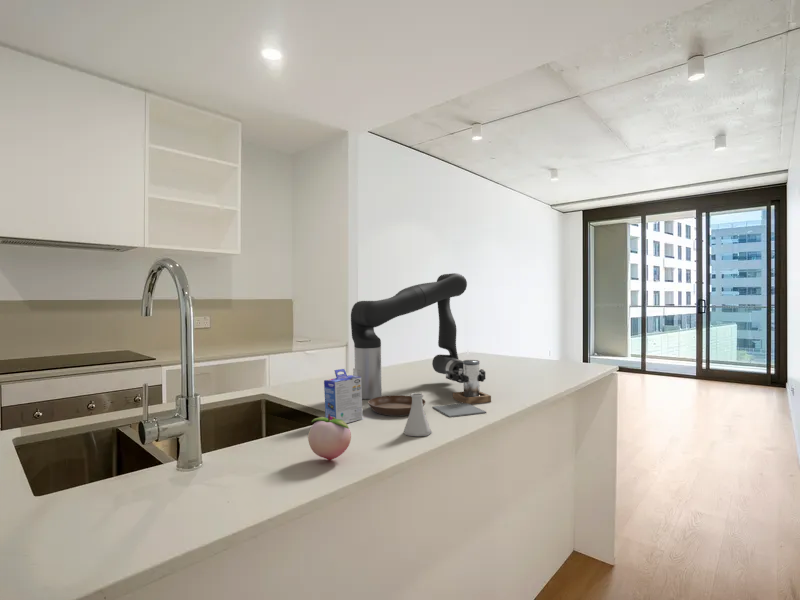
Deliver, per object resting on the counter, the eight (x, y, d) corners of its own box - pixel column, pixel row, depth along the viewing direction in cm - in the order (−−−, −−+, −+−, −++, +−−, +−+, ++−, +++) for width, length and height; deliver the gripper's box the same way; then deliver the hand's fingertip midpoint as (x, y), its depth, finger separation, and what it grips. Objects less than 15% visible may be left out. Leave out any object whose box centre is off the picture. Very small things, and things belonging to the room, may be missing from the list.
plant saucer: (404, 401, 153) (404, 392, 153) (437, 412, 139) (437, 402, 139) (357, 409, 144) (357, 399, 144) (388, 422, 129) (388, 411, 129)
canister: (468, 402, 149) (467, 362, 149) (460, 399, 154) (460, 360, 154) (483, 401, 151) (482, 361, 151) (474, 397, 156) (474, 359, 156)
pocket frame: (465, 404, 146) (465, 398, 146) (452, 398, 155) (452, 392, 155) (491, 401, 150) (490, 395, 150) (476, 396, 158) (476, 390, 158)
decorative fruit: (300, 466, 96) (299, 418, 96) (317, 452, 104) (316, 408, 104) (342, 470, 94) (341, 421, 93) (356, 456, 101) (355, 411, 101)
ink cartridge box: (350, 416, 135) (350, 366, 135) (363, 419, 131) (362, 368, 131) (323, 423, 128) (322, 371, 127) (336, 427, 124) (335, 373, 124)
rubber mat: (449, 417, 132) (449, 415, 132) (432, 407, 143) (432, 406, 143) (486, 413, 136) (486, 411, 136) (466, 403, 147) (466, 402, 147)
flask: (432, 429, 121) (431, 391, 121) (431, 437, 114) (430, 397, 114) (404, 428, 122) (404, 391, 121) (402, 437, 114) (401, 397, 114)
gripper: (439, 360, 165) (452, 368, 148) (477, 359, 168) (494, 366, 151) (439, 381, 165) (453, 391, 148) (477, 379, 168) (495, 389, 151)
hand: (474, 378), depth 150 cm, fingers closed on canister, 5 cm apart
